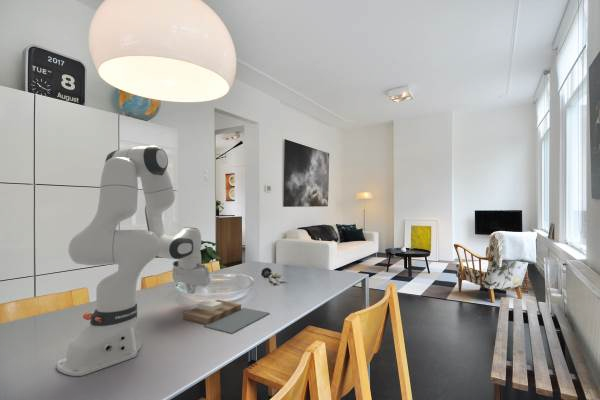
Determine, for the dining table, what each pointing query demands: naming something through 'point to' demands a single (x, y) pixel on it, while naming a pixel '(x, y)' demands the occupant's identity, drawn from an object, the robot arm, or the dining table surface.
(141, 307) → the dining table surface
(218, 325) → the mat
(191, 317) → the wooden board
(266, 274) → the artificial flower
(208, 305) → the white flat block
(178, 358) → the dining table surface
